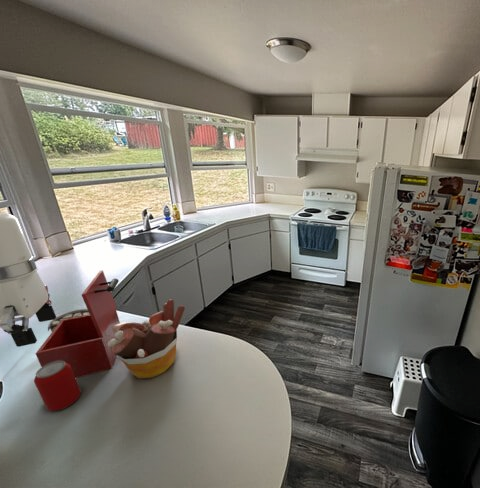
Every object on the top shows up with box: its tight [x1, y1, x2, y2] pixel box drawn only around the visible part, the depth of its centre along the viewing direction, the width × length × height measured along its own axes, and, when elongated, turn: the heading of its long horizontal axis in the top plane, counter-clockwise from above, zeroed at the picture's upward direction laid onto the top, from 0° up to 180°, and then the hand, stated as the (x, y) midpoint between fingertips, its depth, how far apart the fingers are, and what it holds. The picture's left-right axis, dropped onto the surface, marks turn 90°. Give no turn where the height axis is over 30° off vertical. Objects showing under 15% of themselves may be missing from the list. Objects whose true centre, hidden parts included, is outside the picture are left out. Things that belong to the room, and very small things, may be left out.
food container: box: [47, 308, 90, 333], centre depth 91 cm, size 12×6×10 cm, turn 134°
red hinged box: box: [35, 310, 121, 379], centre depth 82 cm, size 15×17×12 cm
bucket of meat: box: [108, 298, 186, 379], centre depth 79 cm, size 20×16×20 cm
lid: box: [81, 270, 120, 338], centre depth 81 cm, size 15×17×6 cm
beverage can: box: [33, 361, 82, 412], centre depth 67 cm, size 7×7×12 cm
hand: (38, 331), depth 62 cm, fingers open, 9 cm apart
